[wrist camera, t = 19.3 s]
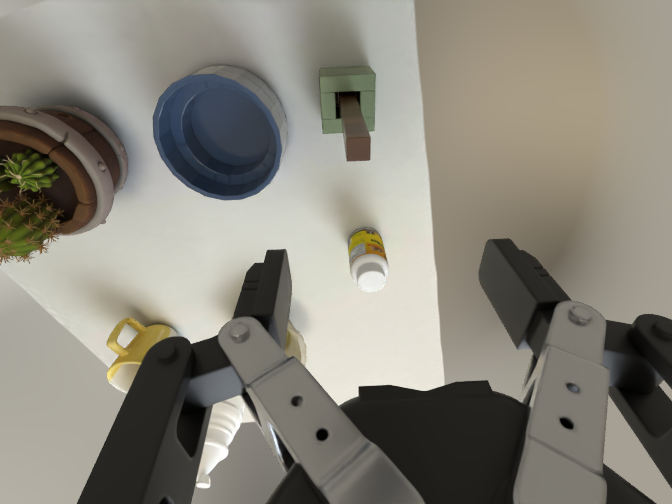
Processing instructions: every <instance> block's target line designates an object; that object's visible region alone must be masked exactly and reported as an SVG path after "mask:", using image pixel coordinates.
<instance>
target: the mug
mask: <svg viewBox="0 0 672 504" xmlns="http://www.w3.org/2000/svg"><path fill="white" fill-rule="evenodd" d="M126 323H127V324H129V325H130V326H131V327H133V328H134V329H135V330H136V331H137V332H139V333H138V334H137V335H136V336H135V337H134V339H133V340H132V341H131V342H130V344H129V345H128V346H127V347H126V348H123V347H121V346H120V345H119V344H118V343H117V338H118V336H119V334H120V332H121V330H122V328H123V327H124V325H125V324H126ZM173 336H178V335H177V333H176V332H175V330H173V329H172V328H171V327H169V326H166V325H161V324H156V325H151V326H148V327H144V326H143V325H142V324H140V323H139V322H137V321H136V320H134V319H132V318H125V319H123V320H122V321H120V322H119V323H118V325H117V326H116V327H115V328H114V330H113V331H112V333H111V335H110V336H109V338H108V340H107V346H108V347H109V348H110V349H111V350H112V351H114V352H115V353H117V354H118V355H119V357H118V358H117V359H116V360H115V362H114V363H113V364H112V365H111V367H110V368H109V370H108V372H107V378H108V380H109V382H110V383H111V384H112V385H113V386H114V387H115V388H116V389H118V390H120V391H122V392H124V393H128V391H129V389H130V386H131V384H132V382H133V380H134V378H135V375H136V373H137V371H138V369H139V367H140V365H141V362H142V360H143V358H144V356H145V354H146V353H147V351H148V350H149V349H150V348H151V347H152V346H153V345H154V344H156V343H157V342H159V341H161V340H163V339H165V338H168V337H173Z"/></svg>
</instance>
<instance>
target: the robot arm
mask: <svg viewBox="0 0 672 504" xmlns="http://www.w3.org/2000/svg"><path fill="white" fill-rule="evenodd" d="M479 281H480V284H481V286H482V288H483V290H484V291H485V293H486V295H487V297H488V299H489V300H490V302H491V304H492V305H493V307H494V309H495V311H496V313H497V314H498V316H499V318H500V320H501V322H502V323H503V325H504V327H505V329H506V330H507V332H508V334H509V336H510V337H511V339H512V341H513V342H514V344H515V346H516V348H517V349H531V350H532V352H533V355H532V357H531V360H530V363H529V366H528V370H527V373H526V377H525V380H524V383H523V386H522V390H521V393H520V396H519V399H518V400H516V399H514V398H512V397H510V396H507V395H505V394H502V393H499V392H495V391H492V389H491V387H490V385H489V382H488V381H487V380H486V381H465V382H454V383H451V384H448V385H445V386H441V387H438V388H435V389H432V390H429V391H419V390H414V389H409V388H403V387H398V386H393V385H381V386H360V387H359V396H358V397H355V398H353V399H350V400H348V401H346V402H344V403H343V404H341V405H339V406H338V405H337V404H336V403H335V402H334V400H333V399H332V398H331V397H330V396H329V395H328V393H327V392H326V391H325V390H324V389H323V388H322V386H321V385H320V384H319V383H318V382H317V381H316V379H315V378H314V377H313V376H312V375H311V374H310V372H309V371H308V370H307V369H306V368H305V366H304V365H303V364H302V363H301V362H300V361H299V360H298V359H297V358H296V357H295V356H292V357H290V358H289V357H288V356H287V355H286V354H285V353H284V352H285V344H286V336H287V327H288V319H289V311H290V303H291V295H292V281H291V274H290V268H289V262H288V256H287V251H286V249H280V250H267V252H266V256H265V260H264V263H254V264H253V266H252V267H251V268H250V269H249V270H248V271H247V273H246V276H245V280H244V283H243V286H242V291H241V293H240V296H239V299H238V302H237V306H236V309H235V312H234V316H233V319H232V320H231V321H229V322H227V323H226V324H225V325H224V326H223V327H222V328H221V330H220V331H219V334H218V335H217V336H214V337H212V338H209V339H206V340H203V341H200V342H196V343H193V344H191V343H190V342H189V340H188V339H186V338H184V337H181V336H173V337H168V338H165V339H163V340H161V341H159V342H157V343H156V344H154V345H153V346H152V347H151V348H150V349H149V350H148V351H147V353H146V354H145V356H144V358H143V360H142V362H141V365H140V367H139V369H138V371H137V373H136V375H135V378H134V380H133V382H132V384H131V386H130V389H129V391H128V393H127V395H126V397H125V400H124V402H123V404H122V406H121V408H120V411H119V413H118V415H117V417H116V419H115V422H114V424H113V426H112V428H111V430H110V432H109V435H108V437H107V439H106V441H105V443H104V446H103V448H102V450H101V452H100V454H99V456H98V459H97V461H96V463H95V465H94V467H93V469H92V472H91V474H90V476H89V478H88V480H87V483H86V485H85V487H84V489H83V491H82V494H81V496H80V498H79V500H78V502H77V504H191V501H192V496H193V492H194V487H195V483H196V479H197V474H198V470H199V466H200V461H201V457H202V452H203V448H204V443H205V439H206V434H207V430H208V425H209V421H210V417H211V412H212V408H213V404H216V403H219V402H222V401H224V400H227V399H230V398H233V397H236V396H238V395H240V397H241V398H242V400H243V402H244V403H245V405H246V407H247V408H248V410H249V412H250V413H251V415H252V416H253V418H254V420H255V421H256V423H257V425H258V426H259V428H260V430H261V431H262V433H263V435H264V437H265V438H266V440H267V442H268V445H269V447H270V449H271V450H272V452H273V454H274V456H275V458H276V459H277V461H278V463H279V464H280V466H281V468H282V469H283V471H284V473H285V474H286V475H285V477H284V478H283V479H282V481H281V483H280V484H279V485H278V487H277V488H276V489H275V491H274V492H273V494H272V495H271V496H270V498H269V499H268V501H267V502H266V504H656V503H655V502H654V501H652V500H651V499H649V498H648V497H647V496H646V495H644V494H643V493H642V492H640V491H639V490H638V489H636V488H635V487H634V486H632V485H631V484H630V483H629V482H627V481H626V480H625V479H623V478H622V477H621V476H619V475H618V474H617V473H615V472H614V471H613V470H611V469H610V468H609V467H607V466H606V465H605V464H604V463H603V454H604V442H605V429H606V416H607V403H608V394H609V396H610V397H611V399H612V400H613V402H614V403H615V405H616V406H617V407H618V409H619V411H620V412H621V414H622V415H623V416H624V418H625V420H626V421H627V422H628V424H629V425H630V427H631V429H632V430H633V431H634V433H635V434H636V436H637V437H638V439H639V440H640V442H641V443H642V445H643V446H644V448H645V449H646V451H647V452H648V454H649V455H650V457H651V458H652V460H653V461H654V463H655V464H656V466H657V467H658V469H659V470H660V472H661V473H662V475H663V476H664V478H665V479H666V481H667V482H668V484H669V485H670V487H671V488H672V401H671V400H670V398H669V397H668V396H667V395H666V394H665V393H664V391H663V390H662V389H661V388H660V386H659V384H660V383H661V382H662V381H663V380H665V382H666V383H667V384H668V385H669V386H670V387H671V389H672V320H671V319H668V318H665V317H663V316H659V315H654V314H643V315H640V316H638V317H637V318H636V320H635V321H634V322H633V324H626V323H621V322H615V321H609V320H605V318H604V317H603V316H602V315H601V314H600V313H599V312H598V311H597V310H596V309H594V308H592V307H591V306H588V305H586V304H584V303H581V302H577V301H572V300H571V299H570V298H569V297H568V296H567V294H566V293H565V292H564V291H563V290H562V289H561V287H560V286H559V285H558V284H557V283H556V281H555V280H554V279H553V278H552V277H551V276H549V273H548V272H547V271H546V270H545V269H543V266H542V265H541V264H540V263H539V261H538V260H537V259H536V258H535V257H533V256H532V255H530V254H529V253H527V252H525V251H524V250H519V249H518V248H517V246H516V245H515V244H514V243H513V242H512V240H511V239H491V240H490V239H489V240H488V241H487V242H486V245H485V249H484V252H483V256H482V260H481V264H480V268H479Z"/></svg>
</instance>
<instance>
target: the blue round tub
mask: <svg viewBox="0 0 672 504" xmlns="http://www.w3.org/2000/svg"><path fill="white" fill-rule="evenodd" d="M153 134H154V140H155V143H156V145H157V148H158V151H159V154H160V156H161V158H162V160H163V161H164V162H165V164H166V165H167V167H168V168H169V169H170V171H171V172H172V174H173V175H174V176H176V177H177V178H178V179H179V180H180V181H181V182H182V183H184V184H185V185H186V186H187V187H189V188H190V189H192V190H194V191H196V192H198V193H200V194H202V195H204V196H207V197H211V198H216V199H220V200H241V199H244V198H247V197H250V196H252V195H255V194H257V193H259V192H260V191H261V190H263V189H264V188H265V187H266V186H267V185H269V184H270V183H271V181H272V179H273V178H274V176H275V174H276V173H277V171H278V169H279V166H280V163H281V160H282V156H283V153H284V150H285V145H286V140H287V134H288V131H287V124H286V116H285V113H284V111H283V109H282V107H281V104H280V102H279V100H278V98H277V97H276V95H275V94H274V93H273V92H272V91H271V89H270V88H269V87H268V86H267V85H266V83H264V81H262V80H261V79H259V78H258V77H256V76H255V75H253V74H252V73H250V72H249V71H247V70H243V69H240V68H237V67H233V66H230V65H221V66H209V67H206V68H204V69H202V70H200V71H198V72H196V73H193V74H191V75H189V76H187V77H185V78H183V79H180V80H178V81H176V82H174V83H172V84H171V85H170V86H169V87H168V88H167V90H166V91H165V92H164V93H163V94H162V95H161V96H160V98H159V100H158V103H157V106H156V109H155V112H154V115H153Z"/></svg>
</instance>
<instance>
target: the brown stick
mask: <svg viewBox="0 0 672 504" xmlns="http://www.w3.org/2000/svg"><path fill="white" fill-rule="evenodd" d="M338 95H339V108H340V115H341V123H342V130H343V137H344V144H345V151H346V159H347V162H348V161H367V160H370V139H371V137H370V135H369V132H368V129H367V126H366V123H365V120H364V118H363V115H362V112H361V109H360V106H359V103H358V101H357V98H356V95H355V92H354V91H348V92H338Z"/></svg>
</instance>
